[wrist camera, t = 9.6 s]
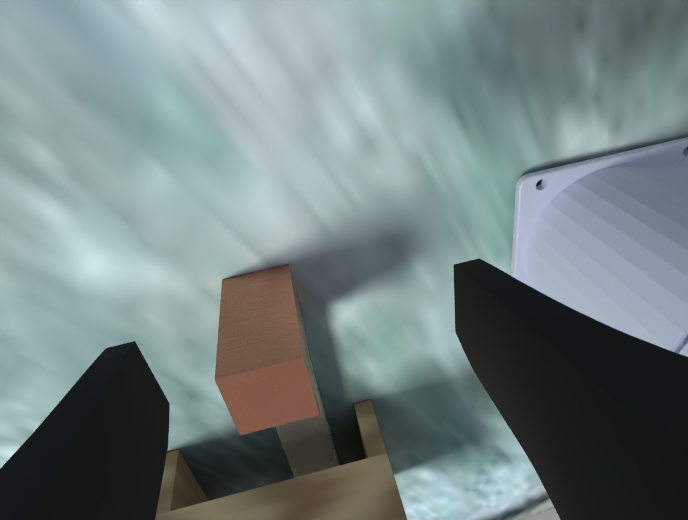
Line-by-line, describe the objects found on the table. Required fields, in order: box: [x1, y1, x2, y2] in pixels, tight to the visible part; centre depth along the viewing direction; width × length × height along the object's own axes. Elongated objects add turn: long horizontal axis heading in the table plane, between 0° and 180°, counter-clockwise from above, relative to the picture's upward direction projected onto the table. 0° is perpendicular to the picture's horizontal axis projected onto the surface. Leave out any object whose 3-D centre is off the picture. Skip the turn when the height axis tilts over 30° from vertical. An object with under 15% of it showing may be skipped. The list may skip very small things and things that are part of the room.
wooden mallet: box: [215, 264, 340, 478], centre depth 22 cm, size 3×17×6 cm, turn 9°
